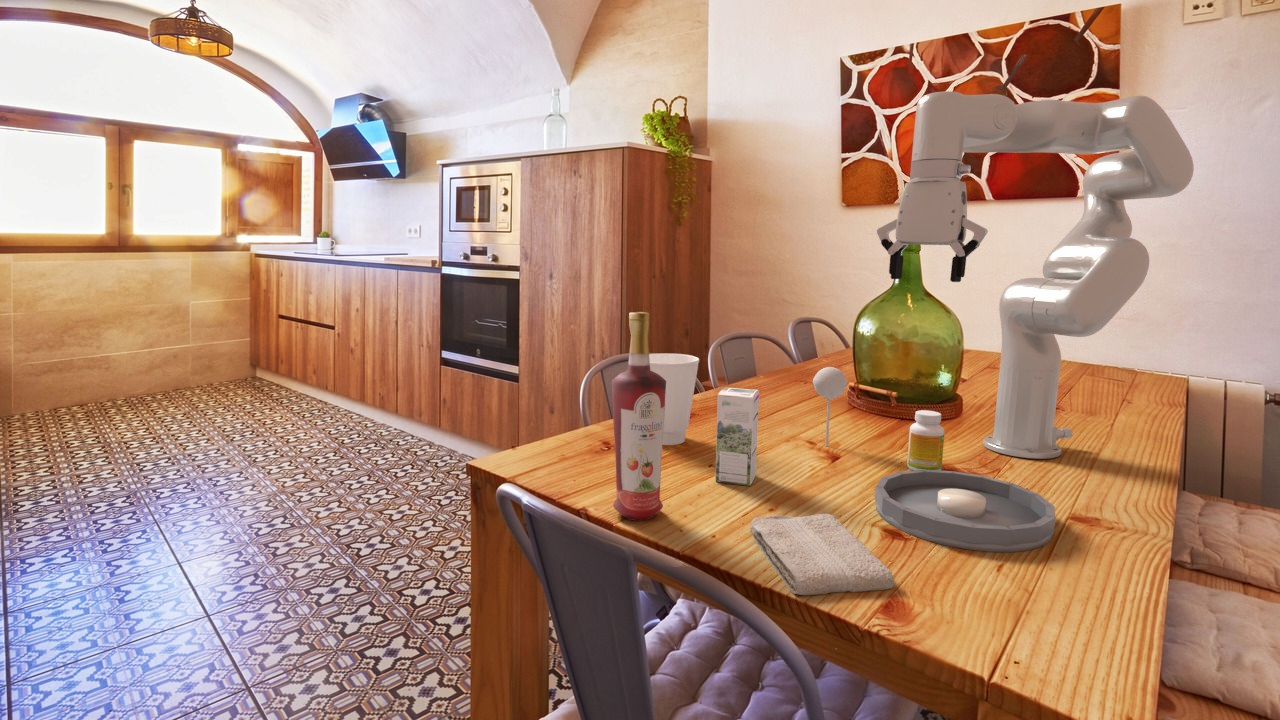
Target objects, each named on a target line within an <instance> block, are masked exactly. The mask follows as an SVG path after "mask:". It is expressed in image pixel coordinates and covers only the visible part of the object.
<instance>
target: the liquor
mask: <svg viewBox="0 0 1280 720" xmlns="http://www.w3.org/2000/svg"><path fill="white" fill-rule="evenodd" d="M628 315H629V316H628V318H629V321H628V322H629V324H628V325H629V331H630V332H629V333H630V335H631V336H630V345H629V355H628V365H627V370H624V372H623V371H622V372H620V373H619V374H617V376H615V377H613V379H612V380H611V391H612V392H611V395H612V421H613V437H614V451H615V452H614V455H615V457H614V458H615V459H614V460H615V479H616V480H615V485H616V487H615V491H616V492H615V493H616V499H615V500H614V503H613V505H612V506H613V508H614V510H615V511H616V512H617V513H618V514H620V515H621V516H622V517H623V518H625V519H627V520H631V521H647V520H650V519H652V518H654V517H655V516H656V515H657V514H658V513H659V512H660V511H661V510H662V509H663V507H664V504H663V502H662V501H661V498H660V496H661V473H662V453H663V452H662V451H663V445H662V440H663V427H664V413H665V393H666V380H665V379H663V378H662V377H661V376H660V375H659V374H657V373H655V372H653V371H650V360H649V354H650V348H649V337H648V336H649V330H650V312H648V311H647V312H645V311H636V312H634V311H633V312H629V314H628Z"/></svg>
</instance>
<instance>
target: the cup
mask: <svg viewBox="0 0 1280 720" xmlns="http://www.w3.org/2000/svg"><path fill="white" fill-rule="evenodd" d="M649 360H650V371H653V372H655V373H657V374H659V375H660V376H661V377H662V378H663V379H665V380H666V393H665V413H664V427H663V440H662V446H675V445H676V446H677V445H680V444H681V445H682V444H683V443H684V442H685V441H686V435H687V434H686V433H687V430H688V428H689V424H690V418H691V413H692V407H693V406H692V405H693V401H694V400H693V399H694V393H695V386H696V382H697V374H698V369H699V363H700V358H699V357H697V356H694V355H691V354H683V353H651V354H650V353H649Z"/></svg>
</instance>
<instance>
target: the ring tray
mask: <svg viewBox="0 0 1280 720" xmlns="http://www.w3.org/2000/svg"><path fill="white" fill-rule="evenodd" d="M874 492H875V493H874V501H875V509H876V512H877V513H878V515H879V516H880V518H882V519H883V520H884V521H885V522H886V523H888V524H889V525H891V526H892V527H894V528H896V529H898V530H900V531H902V532H903V533H904V532H905V533H906V534H909V535H911V536H913V537H916V538H919V539H922V540H924V541H927V542H930V543H931V542H932V543H936V544H939V545H943V546H947V547H952V548H957V549H962V550H967V551H969V550H970V551H978V552H988V553H1016V552H1026V551H1031V550H1035V549H1039V548H1041V547H1043V546H1045V545H1047V544H1048V543H1050V542H1051V540H1052V538H1053V534H1054V533H1055V526H1056V517H1057V516H1056V507H1055V505H1053V504H1052V503H1051V502H1050V501H1048V500H1047V499H1046V498H1045V497H1043V496H1042V495H1041V494H1038V493H1037V492H1034V491H1032V490H1029V489H1027V488H1025V487H1023V486H1020V485H1017V484H1016V483H1011V482H1008V481H1004V480H1002V479H1001V480H1000V479H997V478H994V477H993V478H992V477H989V476H985V475H980V474H973V473H967V472H960V471H954V470H941V471H939V470H906V471H896V472H894V473H892V474H888V475H886V476H882V477H881V478H880V480H879V481H878V482H877V484H876V485H875V491H874Z"/></svg>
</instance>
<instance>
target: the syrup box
mask: <svg viewBox="0 0 1280 720" xmlns="http://www.w3.org/2000/svg"><path fill="white" fill-rule="evenodd" d="M716 403H717V408H716V409H717V411H716V412H717V413H716V416H717V417H716V445H715V446H716V447H715V454H716V455H715V482H716V483H721V484H722V483H723V484H731V485H738V486H747V487H750V486H751V485H752V483H753V482H754V479H755V478H756V475H757V451H758V450H757V449H758V448H757V447H758V432H759V431H758V430H759V429H758V428H759V426H758V425H759V405H760V404H759V403H760V390H759V389H752V388H751V389H749V388H737V387H724V388H722V389H720V391H719V392H718V394H717V402H716Z"/></svg>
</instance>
